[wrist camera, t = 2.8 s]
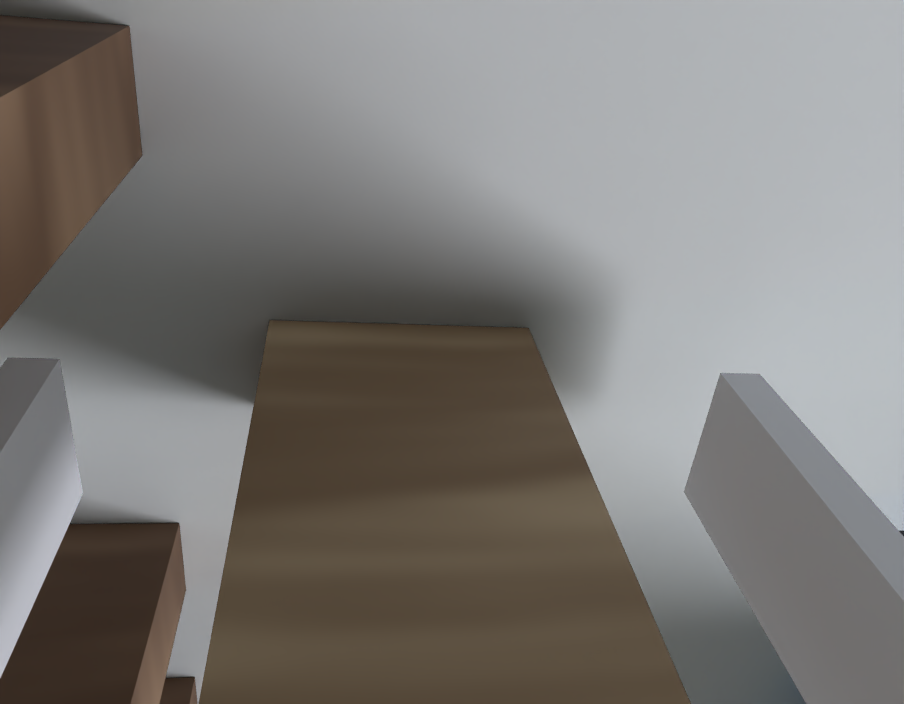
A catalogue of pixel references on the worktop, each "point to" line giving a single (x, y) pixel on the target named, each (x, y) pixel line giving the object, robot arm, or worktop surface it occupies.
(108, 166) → the domino
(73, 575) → the domino
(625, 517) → the worktop surface
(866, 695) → the robot arm
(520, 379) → the tile
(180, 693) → the domino
